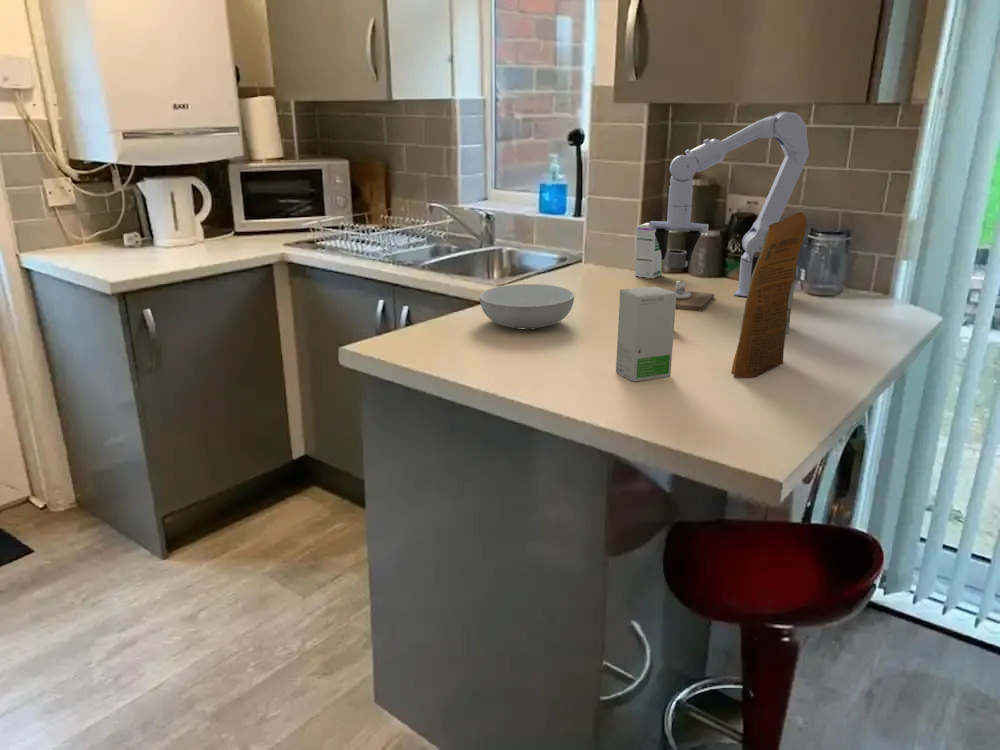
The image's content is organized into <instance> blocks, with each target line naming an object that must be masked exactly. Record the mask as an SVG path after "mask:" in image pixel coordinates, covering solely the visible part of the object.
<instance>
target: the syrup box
mask: <svg viewBox="0 0 1000 750" xmlns="http://www.w3.org/2000/svg"><path fill="white" fill-rule="evenodd" d="M655 232H656V229H653V230H649V222H645V223H643V224H637V225H636V235H635V236H636V237H635V259H634V260H635V262H634V277H636V276H638V278H642V277H645V278H644V279H650V278H653V279H655V278H657V276H658V277H660V275H661V276H662V275H663V264H664V259H662V256H661V250H660V246H659V243H658V241H657V238H656V236H655Z"/></svg>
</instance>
